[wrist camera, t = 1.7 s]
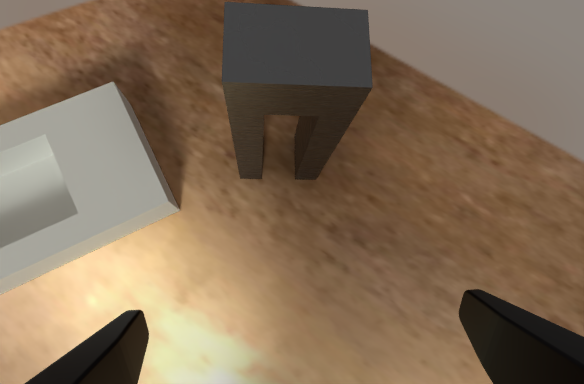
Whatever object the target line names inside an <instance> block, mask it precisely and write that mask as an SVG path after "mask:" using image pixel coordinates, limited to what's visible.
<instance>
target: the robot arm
mask: <svg viewBox="0 0 584 384" xmlns="http://www.w3.org/2000/svg"><path fill="white" fill-rule="evenodd" d="M459 318H460V321H461V323H462V325H463V327H464V329H465V331H466V334H467V336H468V338H469V340H470V342H471V344H472V346H473V348H474V350H475V352H476V354H477V356H478V358H479V360H480V362H481V364H482V366H483V368H484V369H485V371H486V373H487V374H488V376H489V378H490V379H491V381H492V382H493V384H584V337H583V336H580V335H578V334H576V333H574V332H572V331H570V330H567V329H565V328H563V327H561V326H559V325H556V324H554V323H552V322H550V321H548V320H546V319H543V318H541V317H539V316H537V315H535V314H533V313H530V312H528V311H526V310H524V309H522V308H519V307H517V306H515V305H513V304H511V303H509V302H506V301H504V300H502V299H500V298H498V297H495V296H493V295H491V294H489V293H487V292H485V291H482V290H479V289H474V290H466V291H465V292H464V294H463V298H462V301H461V305H460V308H459ZM148 339H149V331H148V327H147V324H146V320H145V317H144V313H143V311H141V310H128V311H126V312H124V313H123V314H121V315H120V316H118V317H117V318H116V319H114V320H113V321H111V322H110V323H109V324H107V325H106V326H104V327H103V328H102V329H100V330H99V331H97V332H96V333H95V334H93V335H92V336H90V337H89V338H88V339H86V340H85V341H83V342H82V343H81V344H79V345H78V346H76V347H75V348H74V349H72V350H71V351H69V352H68V353H67V354H65V355H64V356H62V357H61V358H60V359H58V360H57V361H56V362H54V363H53V364H51V365H50V366H49V367H47V368H46V369H44V370H43V371H42V372H40V373H39V374H37V375H36V376H35V377H33V378H32V379H30V380H29V381H28V382H26V383H25V384H137V383H138V380H139V376H140V372H141V368H142V364H143V360H144V356H145V352H146V348H147V344H148Z"/></svg>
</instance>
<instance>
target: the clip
mask: <svg viewBox="0 0 584 384" xmlns="http://www.w3.org/2000/svg"><path fill="white" fill-rule="evenodd" d="M222 85H223V90H224V96H225V101H226V106H227V111H228V117H229V122H230V127H231V132H232V138H233V143H234V148H235V153H236V159H237V164H238V169H239V174H240V179H262V157H263V130H264V115H297V116H300V118H299V122H298V125H297V129H296V133H295V137H294V138H295V179H309V180H316V178H317V177H318V175H319V174H320V172H321V170H322V169H323V167H324V165H325V164H326V162H327V161H328V159H329V157H330V156H331V154H332V153H333V151H334V149H335V148H336V146H337V144H338V143H339V141H340V140H341V138H342V136H343V135H344V133H345V131H346V130H347V128H348V127H349V125H350V123H351V122H352V120H353V118H354V117H355V115H356V114H357V112H358V110H359V109H360V107H361V105H362V104H363V102H364V101H365V99H366V97H367V96H368V94H369V92H370V91H371V89H372V88H373V87H372V71H371V55H370V39H369V23H368V10H357V9H339V8H321V7H305V6H288V5H271V4H253V3H236V2H225V9H224V36H223V64H222Z"/></svg>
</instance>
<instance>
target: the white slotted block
mask: <svg viewBox="0 0 584 384" xmlns="http://www.w3.org/2000/svg"><path fill="white" fill-rule="evenodd" d="M178 211H180V209H179V207H178V205H177V203H176V201H175V199H174V196H173V194H172V192H171V190H170V188H169V186H168V183H167V181H166V179H165V177H164V175H163V173H162V171H161V168H160V166H159V164H158V162H157V160H156V158H155V156H154V153H153V151H152V149H151V147H150V145H149V143H148V141H147V138H146V136H145V134H144V132H143V130H142V128H141V126H140V123H139V121H138V119H137V117H136V115H135V113H134V110H133V108H132V106H131V104H130V103H129V102H128V100H127V99H126V98H125V96H124V95H123V94H122V92H121V91H120V90H119V88H118V87H117V86H116V84H115V83H114V82H110V83H108V84H105V85H103V86H100V87H98V88H95V89H92V90H90V91H87V92H85V93H82V94H80V95H77V96H74V97H72V98H69V99H67V100H64V101H62V102H59V103H56V104H54V105H51V106H49V107H46V108H43V109H41V110H38V111H36V112H33V113H31V114H28V115H25V116H23V117H20V118H18V119H15V120H13V121H10V122H7V123H5V124H2V125H0V295H1V294H3V293H5V292H7V291H10V290H12V289H14V288H16V287H18V286H20V285H22V284H24V283H27V282H29V281H31V280H33V279H35V278H37V277H39V276H42V275H44V274H46V273H48V272H50V271H52V270H54V269H56V268H59V267H61V266H63V265H65V264H67V263H69V262H71V261H73V260H76V259H78V258H80V257H82V256H84V255H86V254H88V253H90V252H93V251H95V250H97V249H99V248H101V247H103V246H105V245H108V244H110V243H112V242H114V241H116V240H118V239H120V238H122V237H125V236H127V235H129V234H131V233H133V232H135V231H137V230H139V229H142V228H144V227H146V226H148V225H150V224H152V223H154V222H157V221H159V220H161V219H163V218H165V217H167V216H169V215H171V214H174V213H176V212H178Z"/></svg>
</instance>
